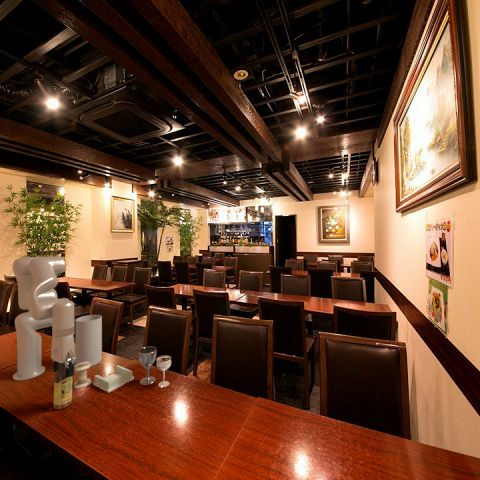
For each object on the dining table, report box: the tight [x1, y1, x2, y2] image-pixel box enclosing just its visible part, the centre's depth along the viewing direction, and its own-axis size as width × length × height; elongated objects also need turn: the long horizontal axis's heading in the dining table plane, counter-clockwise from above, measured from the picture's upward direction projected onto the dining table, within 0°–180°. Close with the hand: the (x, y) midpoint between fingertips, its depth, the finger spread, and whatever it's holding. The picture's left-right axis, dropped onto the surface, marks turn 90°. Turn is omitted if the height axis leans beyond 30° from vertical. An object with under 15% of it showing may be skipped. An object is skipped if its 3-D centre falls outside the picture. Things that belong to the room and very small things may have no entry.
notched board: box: [93, 364, 135, 394], centre depth 121 cm, size 12×13×4 cm
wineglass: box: [155, 355, 172, 388], centre depth 119 cm, size 7×7×12 cm
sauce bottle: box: [53, 358, 74, 410], centre depth 104 cm, size 7×6×20 cm
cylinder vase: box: [75, 314, 103, 368], centre depth 140 cm, size 12×12×25 cm
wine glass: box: [138, 345, 157, 386], centre depth 122 cm, size 8×8×15 cm
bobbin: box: [72, 362, 92, 389], centre depth 119 cm, size 7×7×9 cm
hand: (63, 373), depth 103 cm, fingers open, 9 cm apart
